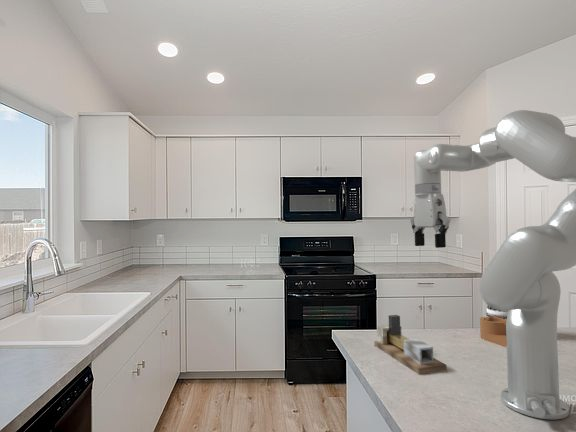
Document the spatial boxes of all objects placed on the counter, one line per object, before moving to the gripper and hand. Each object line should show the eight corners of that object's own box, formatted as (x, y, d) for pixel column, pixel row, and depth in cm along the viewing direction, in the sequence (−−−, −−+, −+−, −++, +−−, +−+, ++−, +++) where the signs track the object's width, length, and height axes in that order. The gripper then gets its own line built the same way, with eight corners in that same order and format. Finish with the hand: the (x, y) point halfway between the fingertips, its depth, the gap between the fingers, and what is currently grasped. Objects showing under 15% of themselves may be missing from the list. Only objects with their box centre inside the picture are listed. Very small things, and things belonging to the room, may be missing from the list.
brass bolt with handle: (420, 353, 106) (419, 324, 106) (411, 355, 105) (410, 325, 105) (393, 338, 120) (392, 312, 121) (385, 339, 120) (384, 313, 120)
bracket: (475, 337, 128) (474, 318, 128) (491, 334, 131) (491, 315, 131) (524, 353, 111) (524, 331, 111) (542, 350, 114) (541, 328, 114)
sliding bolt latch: (446, 370, 99) (445, 346, 100) (418, 374, 97) (418, 349, 97) (397, 342, 123) (397, 323, 123) (374, 345, 121) (374, 325, 121)
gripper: (458, 187, 101) (460, 247, 101) (420, 193, 118) (422, 244, 117) (436, 187, 99) (438, 248, 99) (401, 193, 116) (402, 245, 115)
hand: (429, 246), depth 108 cm, fingers open, 9 cm apart
